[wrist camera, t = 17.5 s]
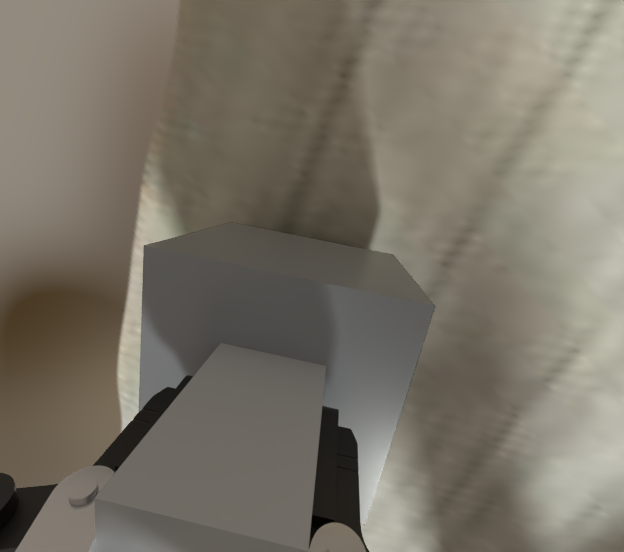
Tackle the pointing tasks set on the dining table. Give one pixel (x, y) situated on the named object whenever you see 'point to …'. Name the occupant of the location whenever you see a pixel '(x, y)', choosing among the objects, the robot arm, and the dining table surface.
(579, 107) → the dining table surface
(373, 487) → the grey stepped block
